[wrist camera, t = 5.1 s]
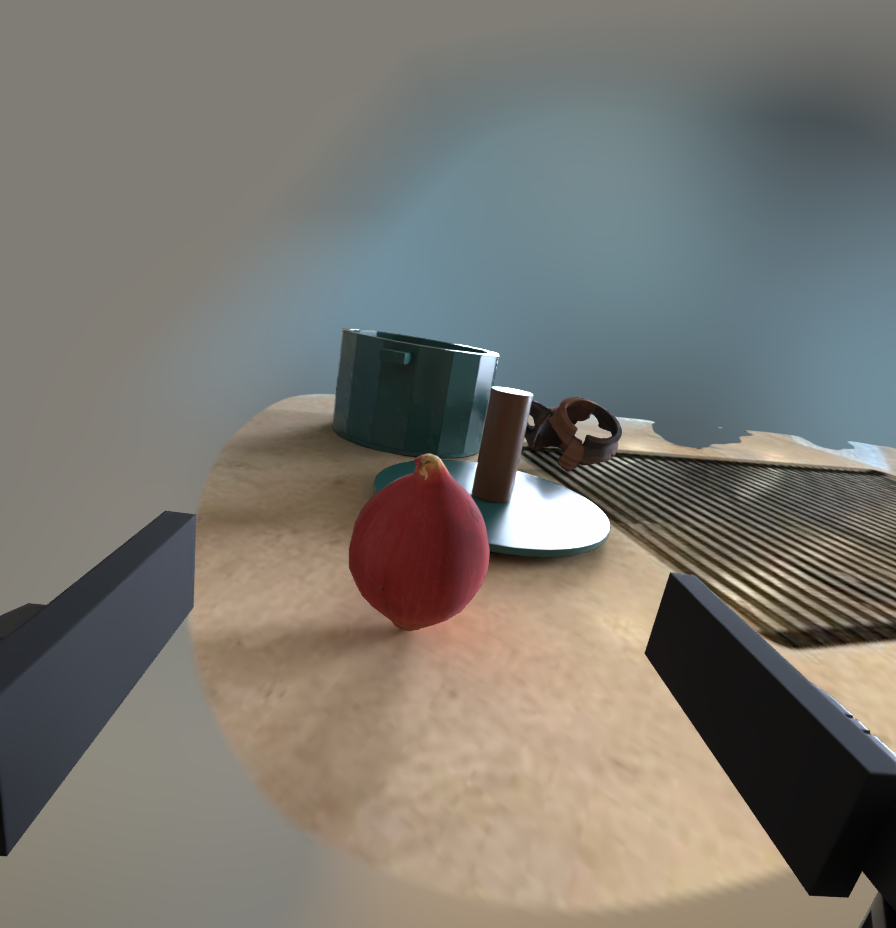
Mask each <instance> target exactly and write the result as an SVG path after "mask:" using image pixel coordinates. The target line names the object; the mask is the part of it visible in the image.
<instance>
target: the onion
mask: <svg viewBox="0 0 896 928" xmlns="http://www.w3.org/2000/svg"><path fill="white" fill-rule="evenodd" d="M414 464H416V468H415V471H414V473H412V474H409V475H406V476H403V477H401V478H399V479H397V480H395V481H393V482H392V483H390V484H389V485H387V486H386V487H385V488H383V489H382V490H380V491H379V492H378V493H377V494H376V495H374V496H373V497H372V498H371V499H370V500H369V501H368V502H367V504H366V505H365V506H364V507H363V509H362V510H361V512H360V514H359V516H358V518H357V520H356V521H355V525H354V529H353V534H352V538H351V542H350V547H349V569H350V571H351V574H352V576H353V578H354V581H355V583H356V585H357V587H358V589H359V591H360V592H361V594H362V596H363V597H364V598H365V599H366V600H367V601H368V602H369V604H370V605H371V606H372V607H374V608H375V609H376V610H378V611H379V612H380V613H382V614H383V615H384V616H386V617H387V618H388V619H390V620H391V621H392V622H393V623H394V625H395V626H397V627H398V628H400V629H401V630H404V631H412V630H418V629H420V628H424V627H428V626H431V625H435V624H437V623H440V622H443V621H446V620H448V619H449V618H451V617H453V616H455V615H456V614H458V613H460V612H461V611H462V610H463V609H464V608H465V606H466V605H467V604H468V603H469V602H470V601H471V600H472V598H473V597H474V596H475V594H476V593H477V592H478V590H479V589H480V587H481V586H482V583H483V580H484V578H485V575H486V573H487V570H488V566H489V552H490V549H489V543H488V537H487V532H486V527H485V523H484V520H483V517H482V515H481V512H480V510H479V508H478V507H477V505H476V503H475V502H474V500H473V499H472V497H471V496H470V494H469V493H468V492H467V491H466V490H465V489H464V488H463V487H462V486H461V485H460V484H459V483H458V482H456V481H455V480H454V479H453V477H452V476H451V475H450V473H449V472H448V470H447V468H446V467H445V465H444V464H443V462H442V461H441V460H440V458H439V457H437V456H435V455H432V454H424V455H421V456H419V457H418V458H415V463H414Z"/></svg>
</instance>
